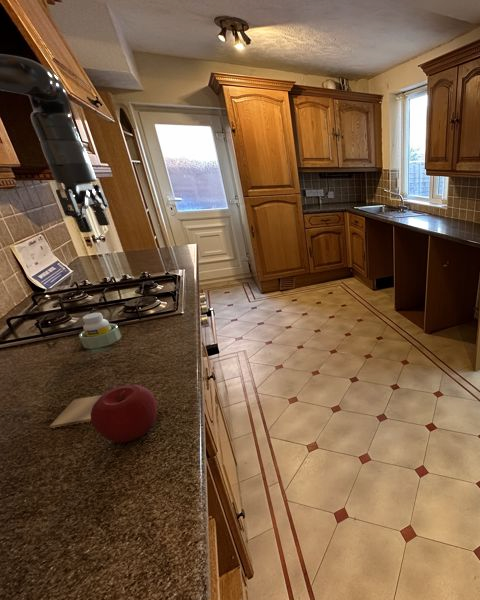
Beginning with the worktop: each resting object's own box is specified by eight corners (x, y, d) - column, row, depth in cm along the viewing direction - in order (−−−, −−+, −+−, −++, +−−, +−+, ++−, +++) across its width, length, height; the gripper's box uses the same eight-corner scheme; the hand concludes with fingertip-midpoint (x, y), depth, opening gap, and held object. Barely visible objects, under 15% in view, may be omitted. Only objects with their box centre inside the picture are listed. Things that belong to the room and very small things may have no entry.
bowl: (79, 355, 89) (72, 340, 87) (96, 340, 96) (89, 325, 94) (114, 350, 91) (108, 335, 89) (128, 336, 98) (122, 321, 96)
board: (51, 428, 65) (49, 425, 65) (75, 402, 72) (73, 399, 72) (109, 418, 67) (108, 415, 67) (127, 393, 74) (126, 390, 74)
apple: (119, 461, 58) (96, 419, 54) (95, 440, 62) (73, 400, 58) (174, 425, 65) (158, 386, 61) (149, 409, 70) (133, 371, 66)
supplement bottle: (92, 353, 90) (77, 322, 86) (93, 344, 94) (79, 315, 89) (117, 346, 93) (104, 316, 89) (117, 338, 97) (104, 309, 93)
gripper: (68, 161, 83) (94, 224, 90) (27, 162, 70) (60, 235, 77) (103, 160, 85) (125, 222, 91) (69, 161, 72) (98, 233, 79)
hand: (96, 228), depth 84 cm, fingers open, 8 cm apart
